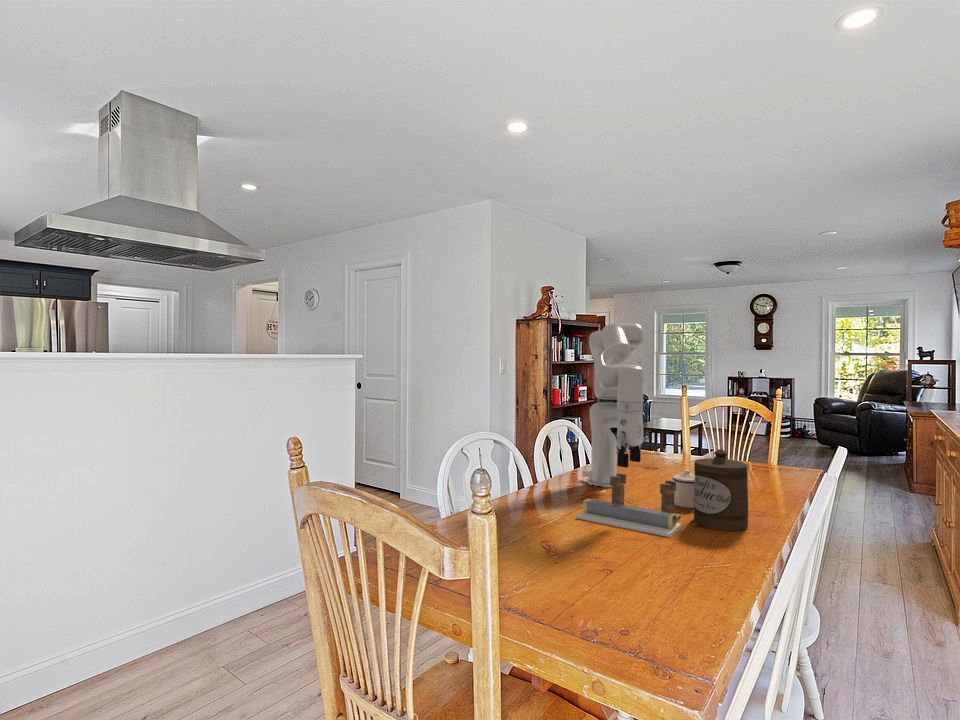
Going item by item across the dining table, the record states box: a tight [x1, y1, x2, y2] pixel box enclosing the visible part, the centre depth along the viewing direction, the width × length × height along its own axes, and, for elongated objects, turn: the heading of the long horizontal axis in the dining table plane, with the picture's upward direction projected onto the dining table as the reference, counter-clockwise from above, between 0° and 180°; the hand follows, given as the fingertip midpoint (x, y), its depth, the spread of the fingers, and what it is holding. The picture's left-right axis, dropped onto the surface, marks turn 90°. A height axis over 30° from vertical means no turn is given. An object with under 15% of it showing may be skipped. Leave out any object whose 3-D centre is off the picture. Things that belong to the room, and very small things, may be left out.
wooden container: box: [693, 448, 749, 532], centre depth 161 cm, size 15×15×22 cm
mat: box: [576, 511, 683, 538], centre depth 161 cm, size 28×11×1 cm, turn 54°
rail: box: [582, 498, 677, 530], centre depth 161 cm, size 27×4×4 cm, turn 54°
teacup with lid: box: [672, 469, 695, 509], centre depth 182 cm, size 12×9×12 cm
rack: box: [610, 472, 682, 522], centre depth 170 cm, size 22×6×11 cm, turn 54°
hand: (629, 464), depth 162 cm, fingers open, 9 cm apart
